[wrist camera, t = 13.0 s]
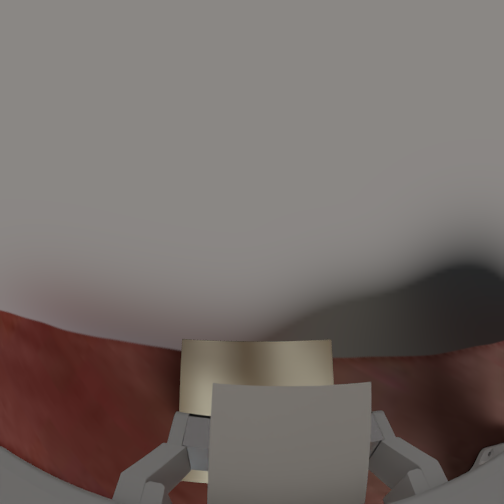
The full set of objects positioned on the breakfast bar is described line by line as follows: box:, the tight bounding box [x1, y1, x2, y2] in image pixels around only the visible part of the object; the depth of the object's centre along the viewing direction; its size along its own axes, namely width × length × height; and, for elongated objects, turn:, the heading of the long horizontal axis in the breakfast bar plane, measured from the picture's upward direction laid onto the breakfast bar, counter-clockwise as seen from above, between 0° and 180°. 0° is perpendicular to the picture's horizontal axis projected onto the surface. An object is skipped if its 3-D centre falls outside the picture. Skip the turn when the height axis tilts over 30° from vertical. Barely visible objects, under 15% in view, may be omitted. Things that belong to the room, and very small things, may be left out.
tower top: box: [179, 339, 334, 483], centre depth 21 cm, size 12×12×6 cm
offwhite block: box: [207, 382, 371, 504], centre depth 10 cm, size 5×4×8 cm
